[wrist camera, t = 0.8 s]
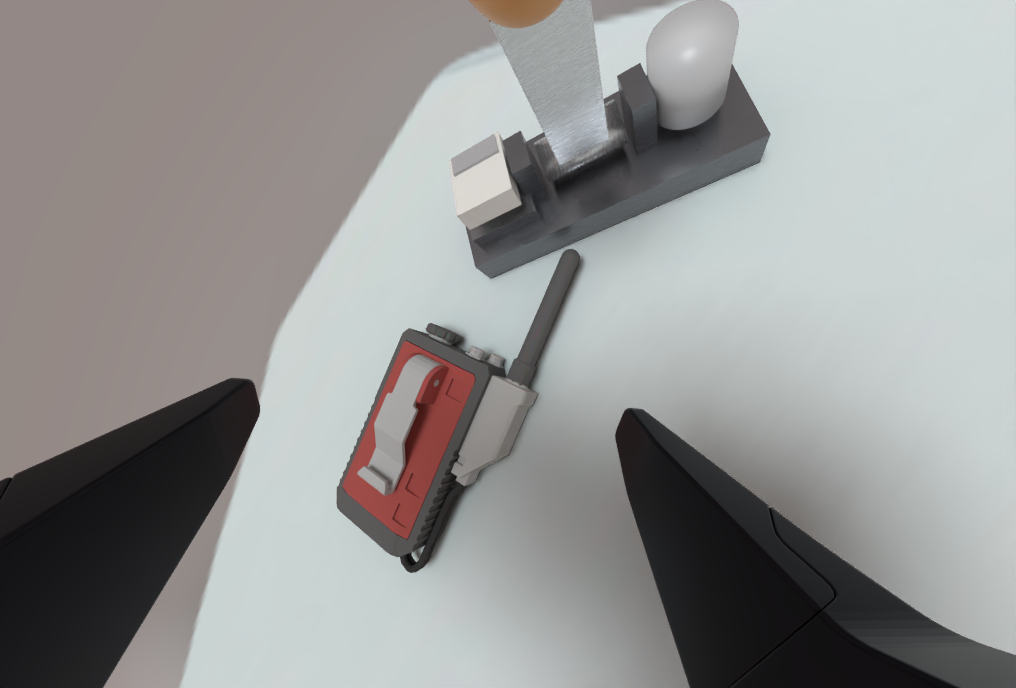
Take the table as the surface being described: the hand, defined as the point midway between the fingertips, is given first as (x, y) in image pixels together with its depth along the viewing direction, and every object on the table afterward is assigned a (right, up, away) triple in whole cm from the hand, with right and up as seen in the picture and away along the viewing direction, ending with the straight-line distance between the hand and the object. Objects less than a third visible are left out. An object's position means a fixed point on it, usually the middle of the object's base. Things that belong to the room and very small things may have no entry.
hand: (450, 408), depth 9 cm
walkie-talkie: (-1, -2, +14) cm, 14 cm away
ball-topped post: (+5, +11, +10) cm, 16 cm away
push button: (+10, +13, +9) cm, 18 cm away
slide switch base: (+6, +11, +12) cm, 17 cm away
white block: (0, +10, +10) cm, 14 cm away
